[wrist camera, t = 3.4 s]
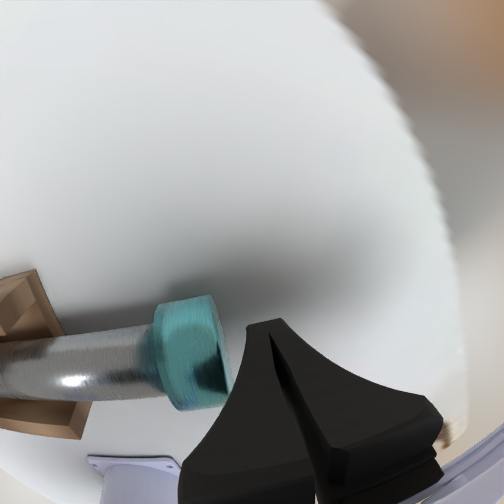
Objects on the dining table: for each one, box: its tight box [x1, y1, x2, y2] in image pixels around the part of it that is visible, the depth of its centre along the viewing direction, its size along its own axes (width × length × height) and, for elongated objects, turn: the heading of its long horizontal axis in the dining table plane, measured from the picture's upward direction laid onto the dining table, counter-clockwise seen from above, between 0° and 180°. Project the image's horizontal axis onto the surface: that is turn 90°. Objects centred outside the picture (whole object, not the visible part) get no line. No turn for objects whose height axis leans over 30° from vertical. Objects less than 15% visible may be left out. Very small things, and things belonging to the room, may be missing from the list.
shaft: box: [0, 294, 234, 412], centre depth 10 cm, size 14×4×4 cm, turn 99°
